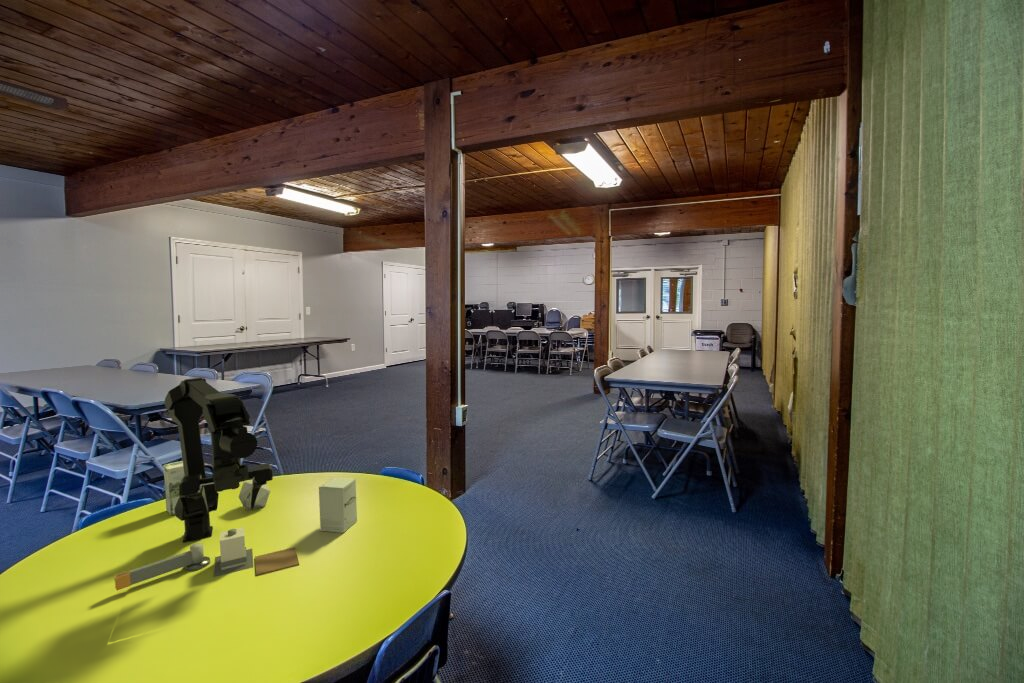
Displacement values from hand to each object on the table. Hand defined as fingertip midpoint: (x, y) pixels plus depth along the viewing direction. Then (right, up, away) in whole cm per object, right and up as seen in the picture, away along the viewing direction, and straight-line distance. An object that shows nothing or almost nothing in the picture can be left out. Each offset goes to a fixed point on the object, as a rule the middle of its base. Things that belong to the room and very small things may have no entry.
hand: (230, 513), depth 115 cm
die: (-12, -10, +33) cm, 37 cm away
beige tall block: (0, -12, +1) cm, 12 cm away
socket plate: (0, -12, +1) cm, 12 cm away
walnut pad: (+11, -12, +1) cm, 16 cm away
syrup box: (-34, -10, +31) cm, 47 cm away
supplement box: (+19, -11, +20) cm, 29 cm away
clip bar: (-12, -12, -5) cm, 18 cm away
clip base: (-8, -13, 0) cm, 15 cm away
